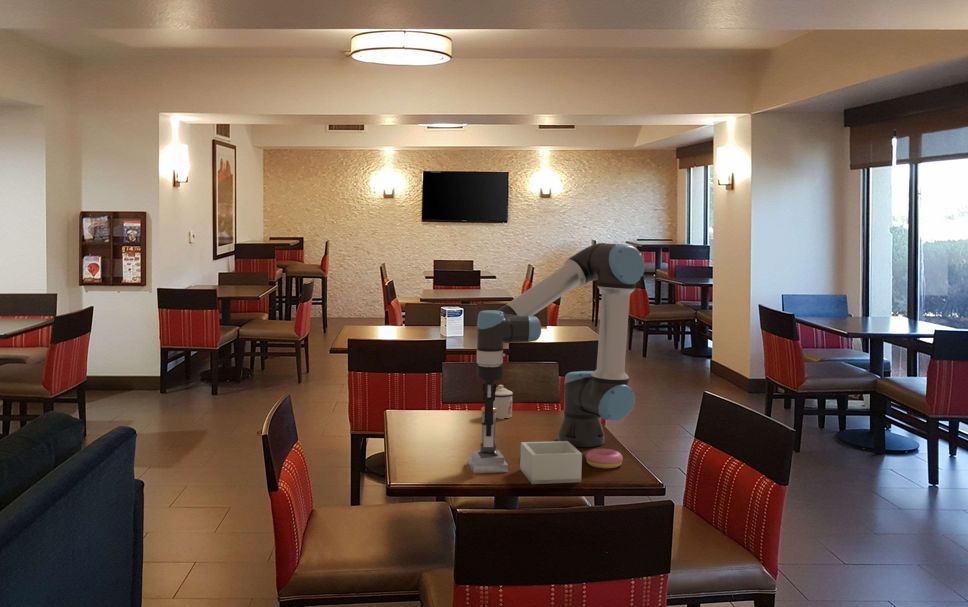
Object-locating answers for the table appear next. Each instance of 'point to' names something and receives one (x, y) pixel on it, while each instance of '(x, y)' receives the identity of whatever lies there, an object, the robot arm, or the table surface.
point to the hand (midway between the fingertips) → (488, 444)
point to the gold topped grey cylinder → (493, 449)
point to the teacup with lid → (503, 402)
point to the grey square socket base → (487, 462)
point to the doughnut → (604, 458)
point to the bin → (550, 462)
